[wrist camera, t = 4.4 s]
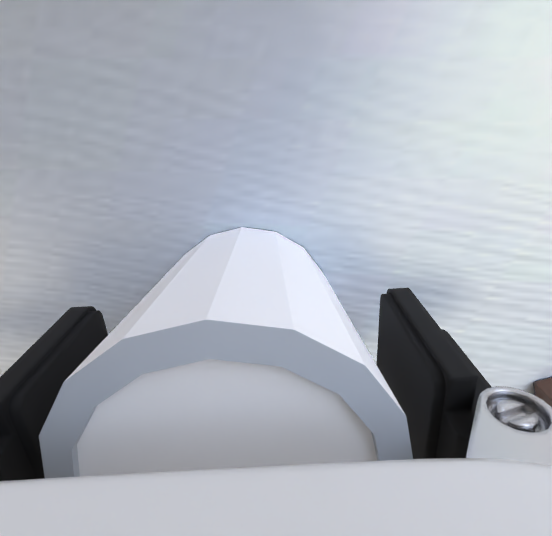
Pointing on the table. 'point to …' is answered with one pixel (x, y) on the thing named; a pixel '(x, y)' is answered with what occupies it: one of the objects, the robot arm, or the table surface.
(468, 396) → the robot arm
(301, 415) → the white cup
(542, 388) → the walnut block
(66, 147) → the table surface
